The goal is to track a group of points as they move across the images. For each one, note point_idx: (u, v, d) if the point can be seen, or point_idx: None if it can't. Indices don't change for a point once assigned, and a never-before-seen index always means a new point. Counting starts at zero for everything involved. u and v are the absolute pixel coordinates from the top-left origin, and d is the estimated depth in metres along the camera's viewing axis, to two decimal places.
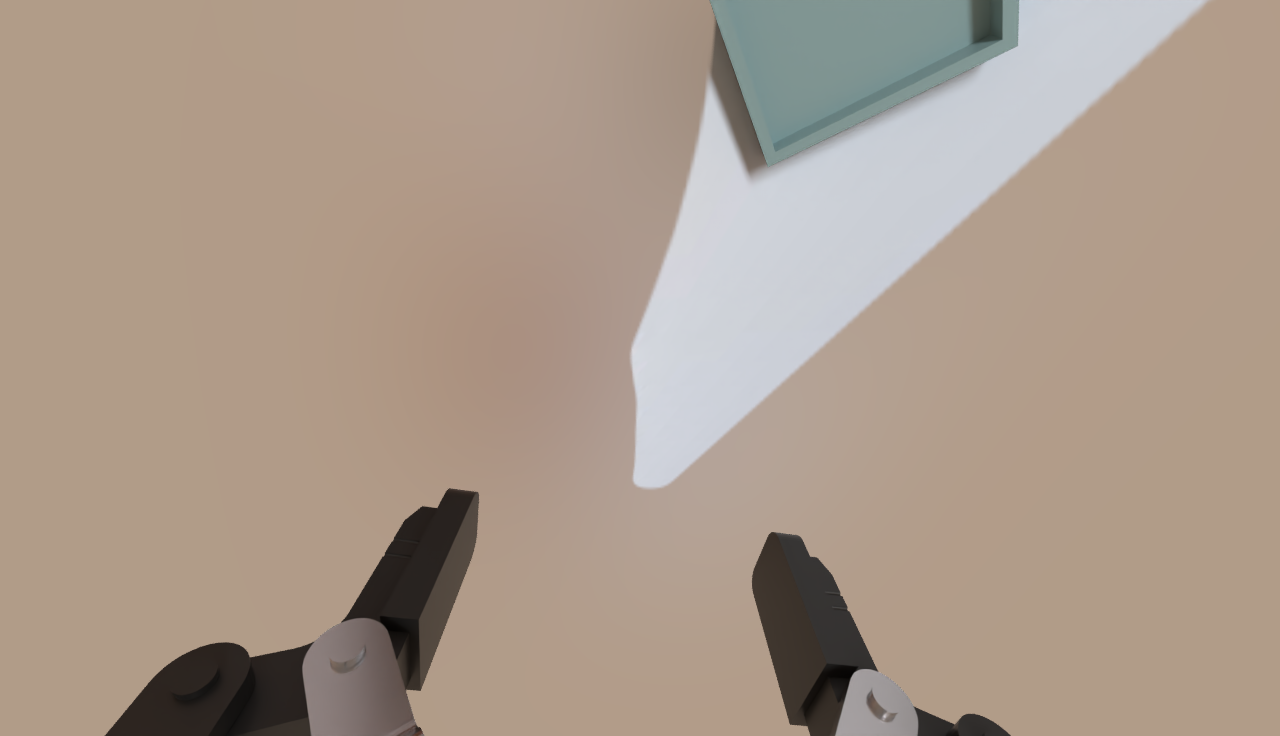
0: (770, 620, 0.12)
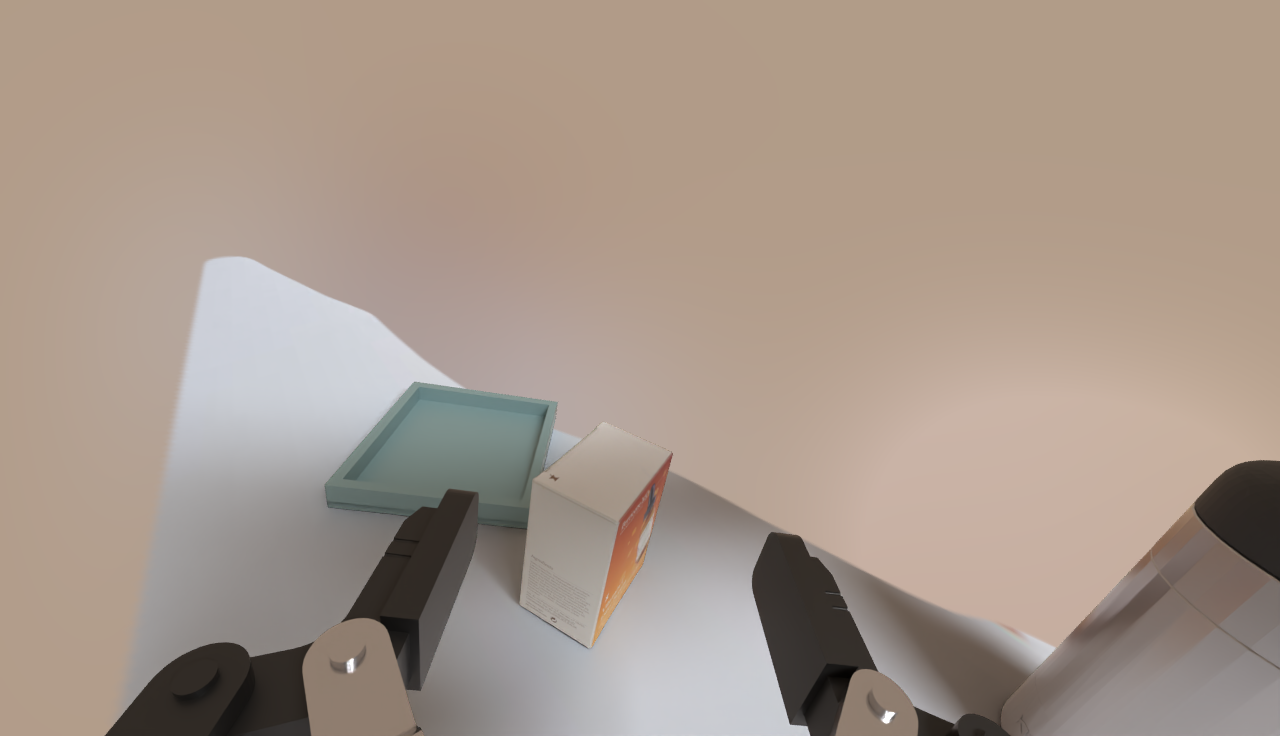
0: (770, 620, 0.12)
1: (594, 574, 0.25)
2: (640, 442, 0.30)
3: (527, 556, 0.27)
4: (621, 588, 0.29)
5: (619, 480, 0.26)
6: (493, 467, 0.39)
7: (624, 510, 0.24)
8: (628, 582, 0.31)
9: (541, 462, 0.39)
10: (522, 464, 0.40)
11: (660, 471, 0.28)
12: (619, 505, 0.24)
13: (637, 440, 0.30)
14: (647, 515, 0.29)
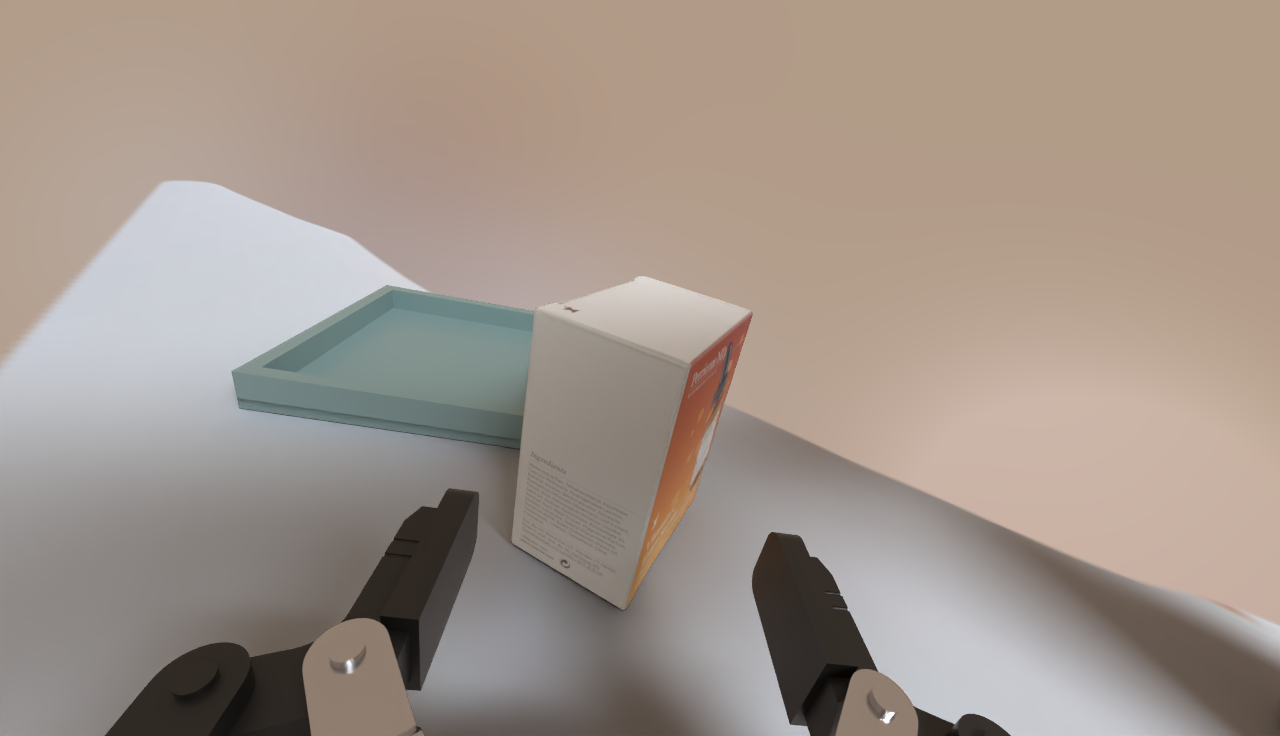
0: (770, 620, 0.12)
1: (638, 474, 0.14)
2: (702, 297, 0.19)
3: (524, 456, 0.17)
4: (670, 521, 0.19)
5: (679, 323, 0.15)
6: (482, 378, 0.29)
7: (696, 352, 0.13)
8: (677, 518, 0.21)
9: None
10: (522, 378, 0.30)
11: (739, 327, 0.17)
12: (686, 346, 0.14)
13: (696, 294, 0.19)
14: (715, 402, 0.18)
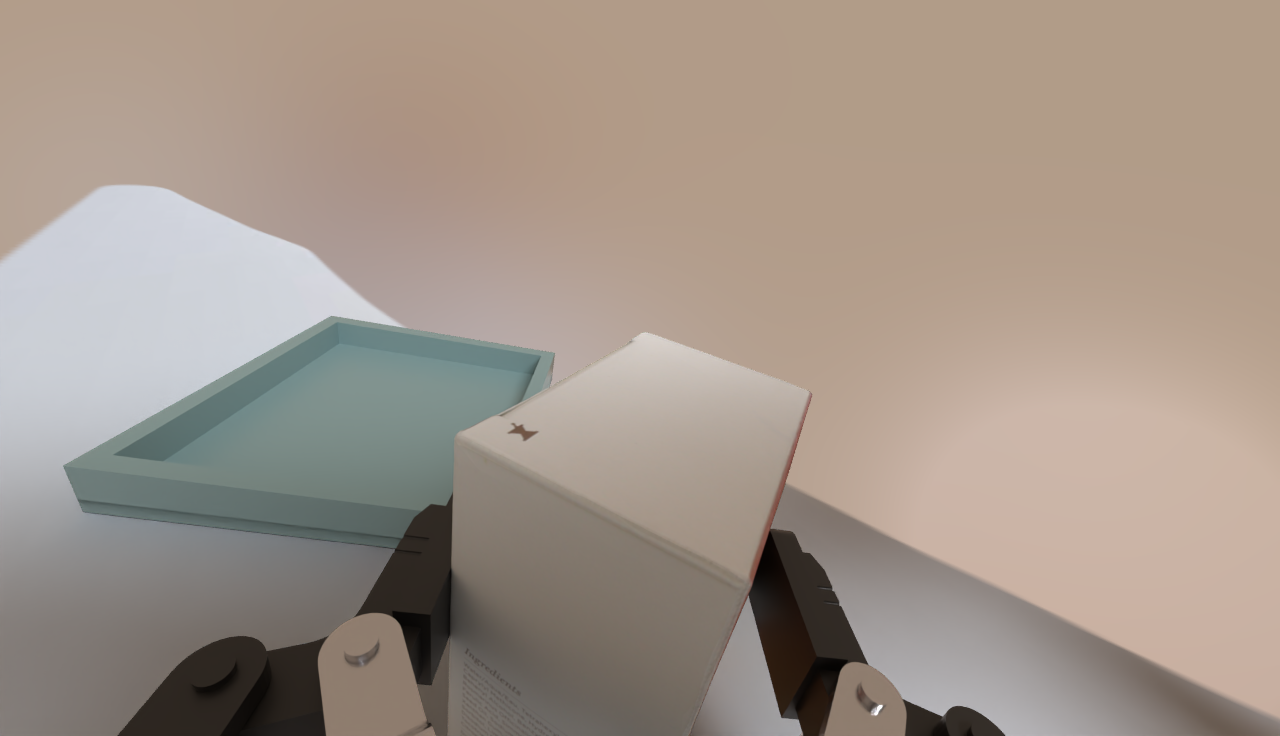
0: (763, 615, 0.12)
1: (644, 732, 0.08)
2: (735, 369, 0.13)
3: (456, 650, 0.10)
4: None
5: (712, 446, 0.09)
6: (439, 445, 0.23)
7: (755, 535, 0.07)
8: None
9: None
10: None
11: None
12: (734, 518, 0.07)
13: (726, 365, 0.13)
14: None
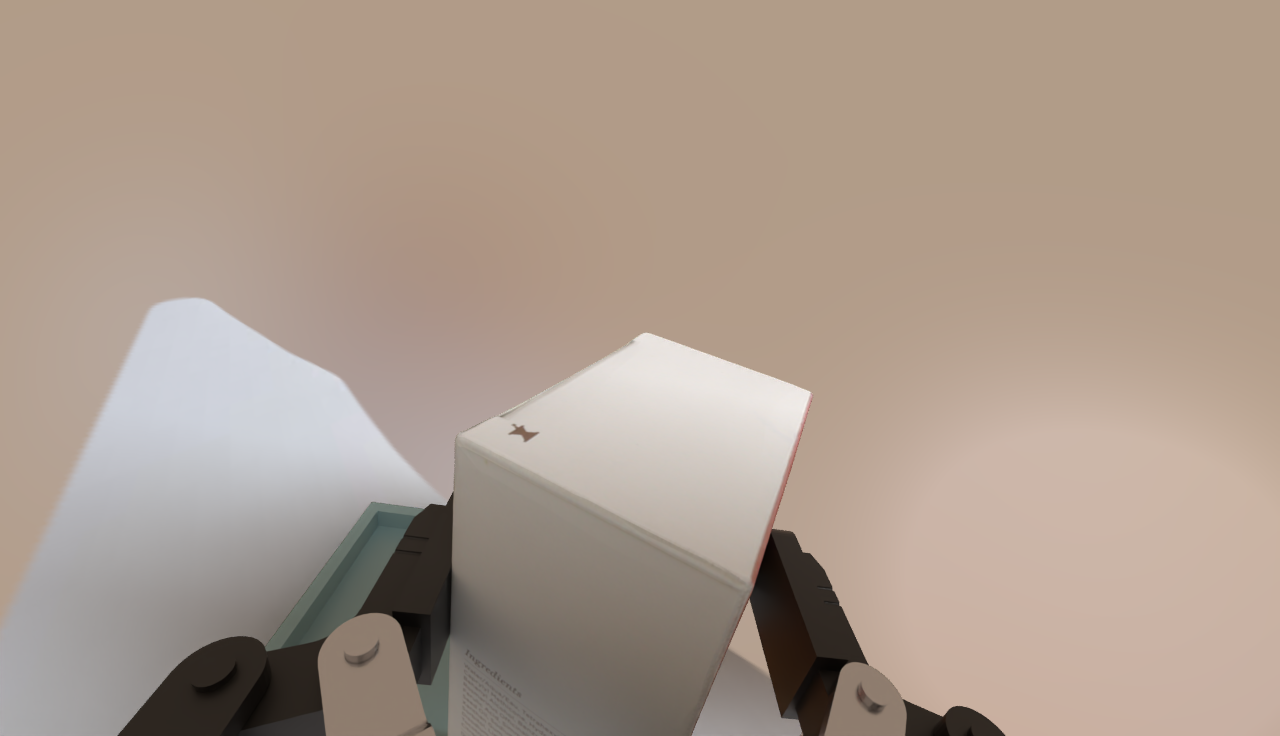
0: (763, 615, 0.12)
1: (645, 734, 0.08)
2: (735, 370, 0.13)
3: (456, 652, 0.10)
4: None
5: (713, 446, 0.09)
6: None
7: (755, 537, 0.07)
8: None
9: None
10: None
11: None
12: (736, 519, 0.07)
13: (727, 365, 0.13)
14: None
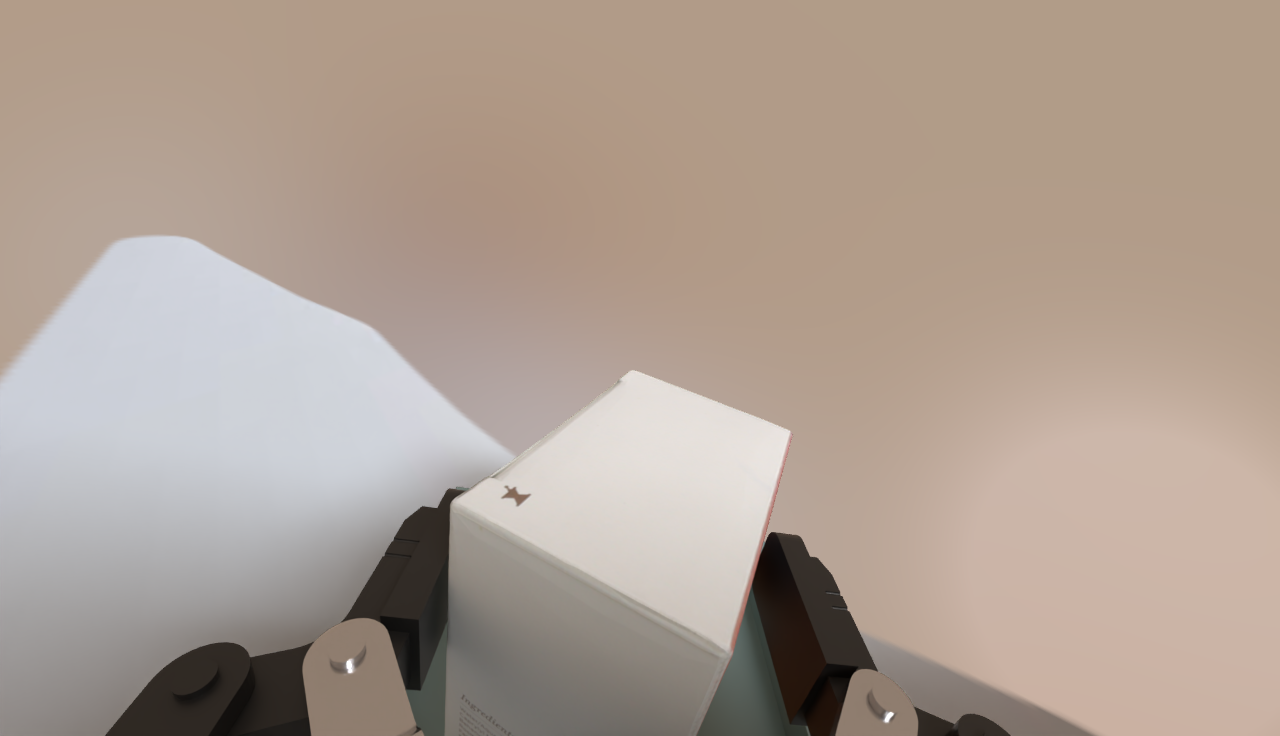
0: (770, 620, 0.12)
1: None
2: (719, 410, 0.13)
3: (452, 695, 0.11)
4: None
5: (697, 501, 0.09)
6: None
7: (735, 600, 0.08)
8: None
9: None
10: None
11: (781, 474, 0.12)
12: (717, 582, 0.08)
13: (711, 405, 0.14)
14: None
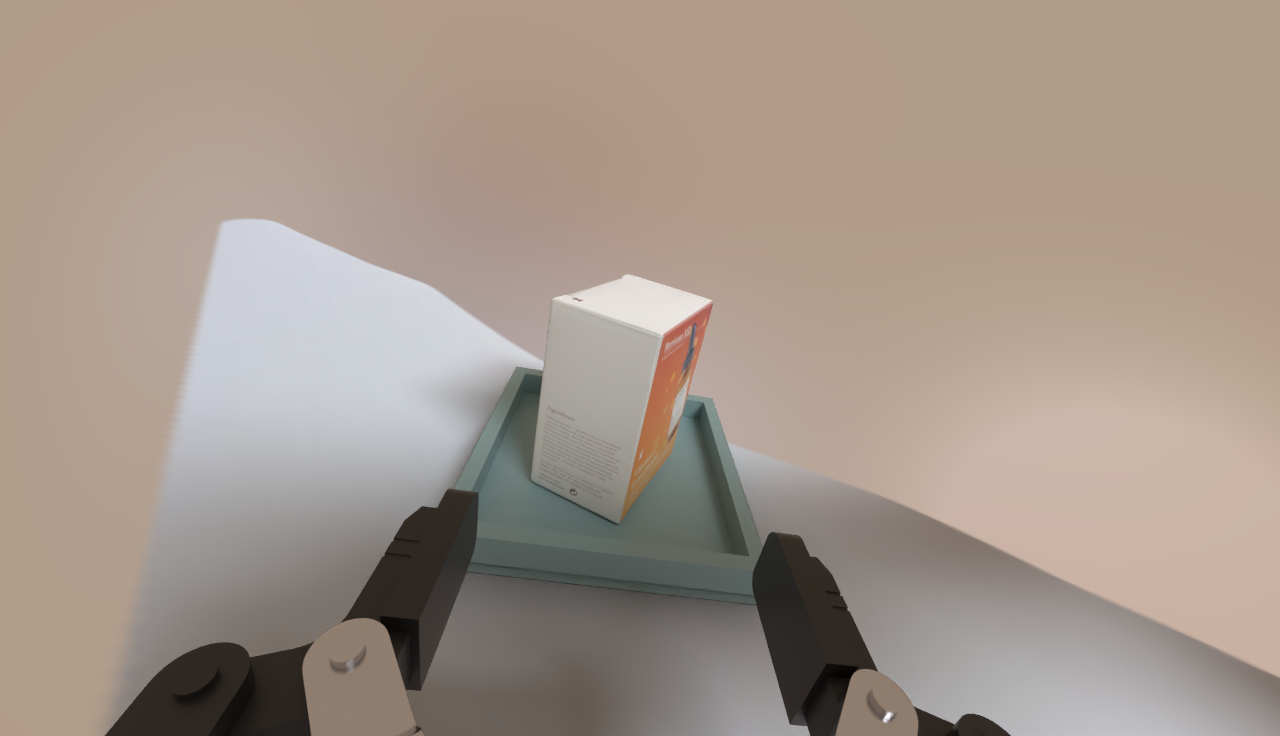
0: (770, 620, 0.12)
1: (628, 416, 0.20)
2: (674, 290, 0.25)
3: (542, 410, 0.22)
4: (652, 462, 0.25)
5: (656, 308, 0.21)
6: (662, 495, 0.25)
7: (667, 328, 0.19)
8: (658, 463, 0.26)
9: (741, 489, 0.25)
10: (700, 490, 0.27)
11: (702, 312, 0.23)
12: (661, 324, 0.19)
13: (670, 288, 0.25)
14: (685, 370, 0.24)
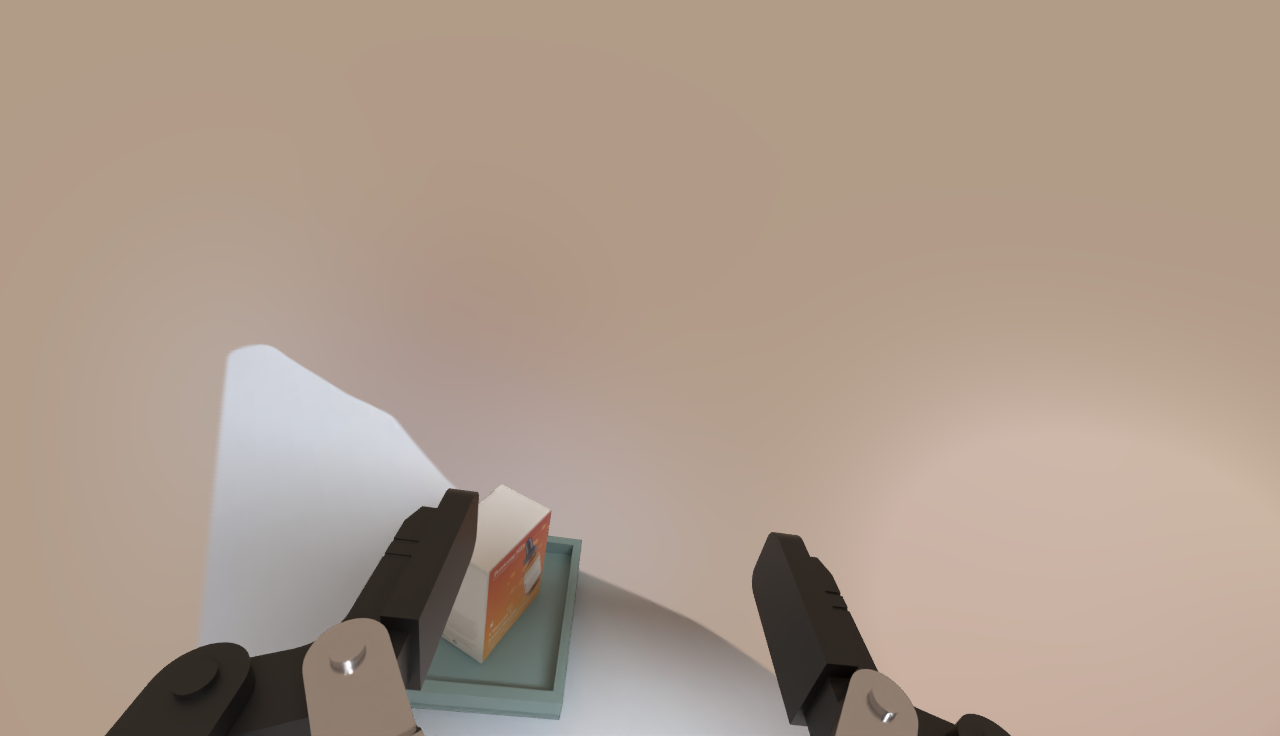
0: (770, 620, 0.12)
1: (477, 609, 0.34)
2: (526, 502, 0.39)
3: None
4: (511, 616, 0.38)
5: (498, 538, 0.35)
6: (520, 634, 0.39)
7: (495, 563, 0.33)
8: (520, 610, 0.40)
9: (569, 632, 0.38)
10: (549, 628, 0.40)
11: (536, 527, 0.37)
12: (493, 558, 0.33)
13: (524, 500, 0.39)
14: (528, 560, 0.37)
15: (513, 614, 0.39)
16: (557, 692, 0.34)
